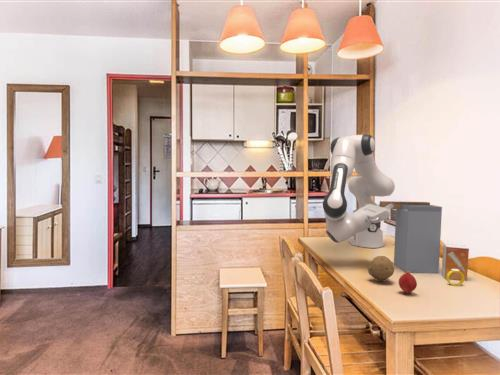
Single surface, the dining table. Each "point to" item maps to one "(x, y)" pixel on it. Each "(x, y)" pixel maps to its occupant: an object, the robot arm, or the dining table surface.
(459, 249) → the small box
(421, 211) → the stand
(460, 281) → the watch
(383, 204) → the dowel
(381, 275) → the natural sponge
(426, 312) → the dining table surface
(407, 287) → the red rounded lump
